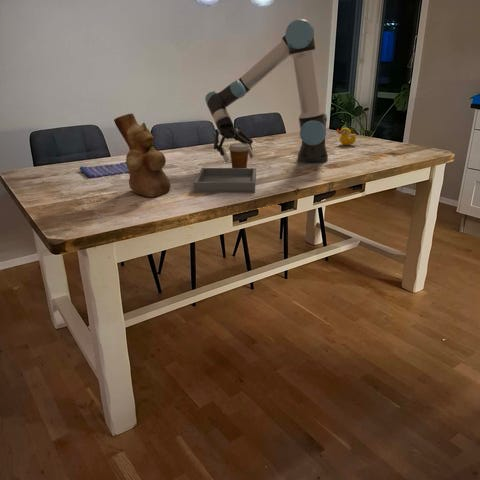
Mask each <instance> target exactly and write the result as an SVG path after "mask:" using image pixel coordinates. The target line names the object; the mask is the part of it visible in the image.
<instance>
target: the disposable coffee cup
mask: <svg viewBox="0 0 480 480" xmlns="http://www.w3.org/2000/svg"><path fill="white" fill-rule="evenodd" d="M249 148H250V147H249V145H248V144H244V143H241V142H238V143H237V142H235V143H231V144H229V147H228V150H229V154H230V162H231V168H248V167H247V166H248V159H249V154H248V151H249Z"/></svg>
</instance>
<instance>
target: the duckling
mask: <svg viewBox="0 0 480 480" xmlns="http://www.w3.org/2000/svg"><path fill="white" fill-rule="evenodd" d="M336 132H337V134H339V135H341V136H340V137H339V142H340V143H341V145H344V146H351V145H354V144H355V143H356V139H357V136H356V134H355V133H353V134H351V132H352V130H351V129H350V128H348V127H342V128H341V129H340V130H339V128H337V129H336ZM350 134H351V136H350V137H348V136H349V135H350Z"/></svg>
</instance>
